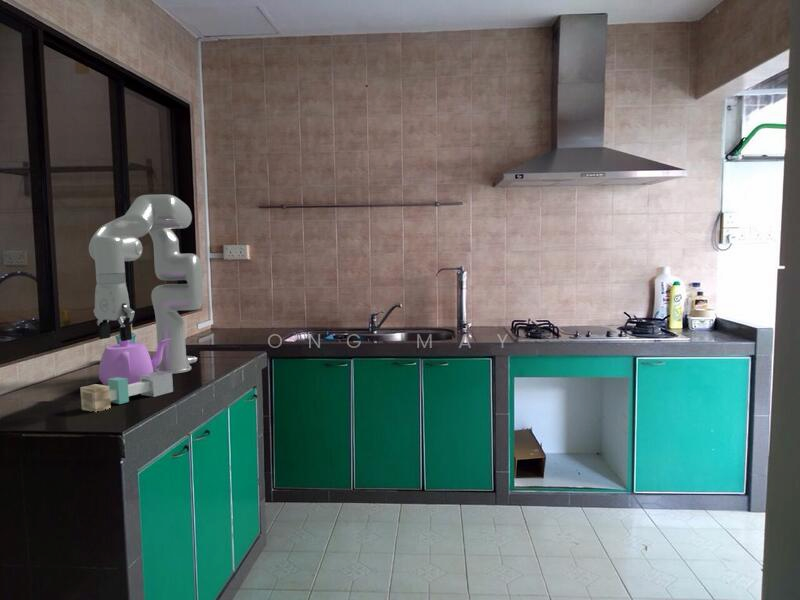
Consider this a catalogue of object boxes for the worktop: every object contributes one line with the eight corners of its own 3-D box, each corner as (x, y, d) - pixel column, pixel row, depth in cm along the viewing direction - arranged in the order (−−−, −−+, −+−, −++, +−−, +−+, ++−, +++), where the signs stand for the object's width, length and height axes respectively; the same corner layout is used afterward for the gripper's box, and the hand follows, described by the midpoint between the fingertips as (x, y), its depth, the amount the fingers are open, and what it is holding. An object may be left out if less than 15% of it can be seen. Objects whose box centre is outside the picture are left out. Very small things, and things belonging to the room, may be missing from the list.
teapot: (98, 394, 187) (94, 346, 185) (100, 381, 206) (97, 337, 204) (176, 385, 196) (173, 339, 195) (171, 374, 215) (169, 332, 214)
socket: (96, 405, 173) (95, 384, 172) (110, 408, 169) (109, 386, 169) (81, 409, 169) (80, 387, 168) (95, 412, 166) (94, 389, 165)
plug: (145, 393, 185) (143, 371, 185) (155, 394, 183) (154, 372, 182) (87, 407, 170) (86, 383, 169) (98, 409, 167) (96, 385, 166)
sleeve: (160, 389, 191) (159, 371, 190) (173, 391, 188) (172, 372, 187) (140, 394, 185) (139, 375, 184) (153, 396, 182) (152, 377, 181)
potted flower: (133, 363, 238) (130, 325, 237) (111, 364, 236) (109, 326, 235) (140, 357, 252) (138, 321, 250) (120, 358, 250) (118, 322, 249)
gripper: (80, 280, 174) (85, 339, 175) (118, 281, 165) (122, 343, 167) (104, 278, 180) (108, 335, 182) (142, 279, 171) (146, 339, 173)
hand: (115, 339), depth 174 cm, fingers open, 9 cm apart
